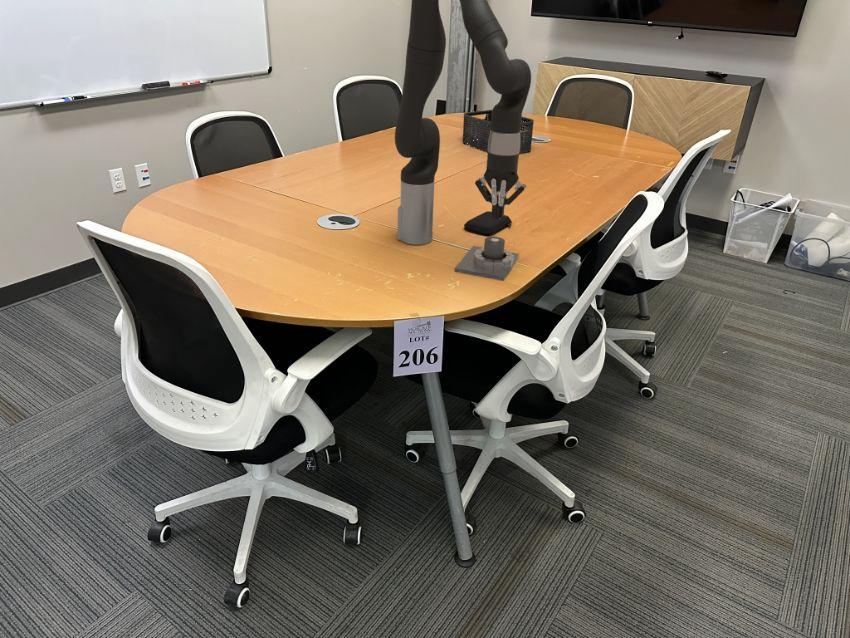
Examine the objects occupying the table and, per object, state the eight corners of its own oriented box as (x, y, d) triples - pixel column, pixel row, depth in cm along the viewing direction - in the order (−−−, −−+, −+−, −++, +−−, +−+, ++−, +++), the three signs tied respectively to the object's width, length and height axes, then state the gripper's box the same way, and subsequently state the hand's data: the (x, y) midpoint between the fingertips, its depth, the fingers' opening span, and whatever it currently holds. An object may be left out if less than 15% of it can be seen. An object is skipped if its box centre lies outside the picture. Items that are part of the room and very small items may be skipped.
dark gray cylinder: (480, 263, 159) (482, 241, 156) (485, 256, 163) (487, 234, 160) (499, 267, 158) (502, 244, 155) (504, 259, 162) (507, 237, 159)
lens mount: (454, 271, 157) (455, 260, 155) (472, 249, 170) (473, 239, 168) (503, 280, 153) (504, 269, 152) (518, 257, 166) (519, 246, 165)
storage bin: (458, 142, 276) (460, 112, 269) (492, 138, 285) (494, 108, 278) (499, 158, 255) (502, 125, 248) (534, 152, 265) (537, 120, 258)
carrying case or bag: (492, 239, 177) (516, 225, 188) (492, 230, 176) (517, 216, 186) (461, 231, 182) (486, 217, 193) (461, 221, 181) (487, 208, 192)
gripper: (472, 150, 145) (467, 219, 154) (527, 157, 141) (519, 227, 150) (481, 143, 151) (476, 210, 160) (534, 149, 147) (526, 218, 156)
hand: (497, 218), depth 155 cm, fingers closed
